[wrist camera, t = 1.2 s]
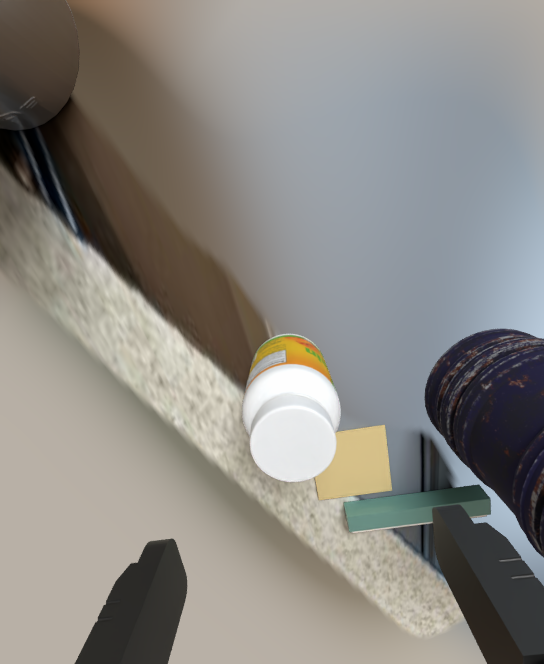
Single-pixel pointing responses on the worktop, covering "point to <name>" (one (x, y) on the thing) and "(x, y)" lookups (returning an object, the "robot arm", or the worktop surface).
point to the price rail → (413, 508)
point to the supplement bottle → (291, 409)
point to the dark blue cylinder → (496, 417)
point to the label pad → (357, 465)
